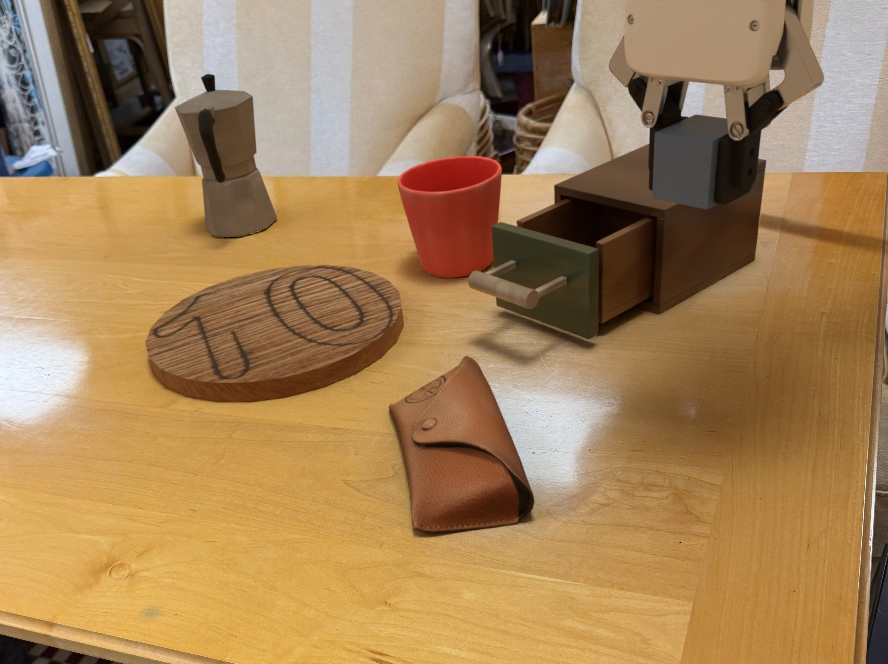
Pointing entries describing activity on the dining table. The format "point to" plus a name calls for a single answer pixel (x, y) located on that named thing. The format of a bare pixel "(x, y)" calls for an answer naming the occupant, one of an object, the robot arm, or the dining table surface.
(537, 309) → the drawer
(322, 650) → the dining table surface
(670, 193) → the block
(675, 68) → the robot arm
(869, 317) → the dining table surface
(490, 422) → the sunglasses case
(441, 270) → the flower pot
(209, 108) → the coffeepot
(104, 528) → the dining table surface
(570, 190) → the cabinet
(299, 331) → the trivet
